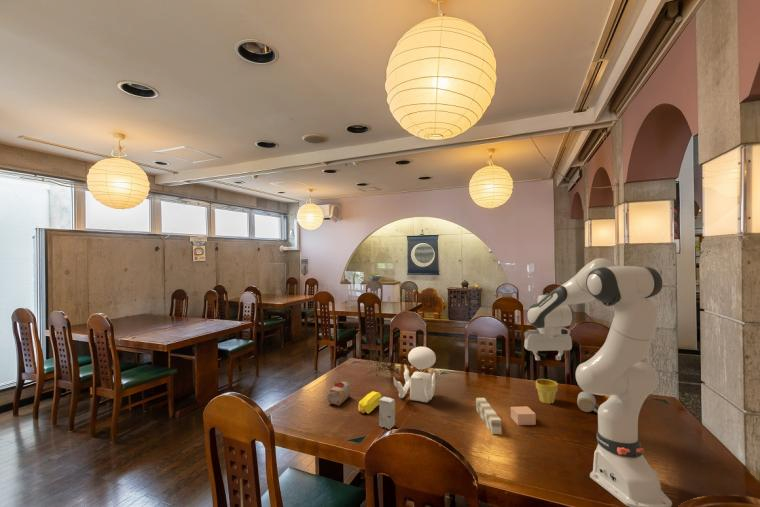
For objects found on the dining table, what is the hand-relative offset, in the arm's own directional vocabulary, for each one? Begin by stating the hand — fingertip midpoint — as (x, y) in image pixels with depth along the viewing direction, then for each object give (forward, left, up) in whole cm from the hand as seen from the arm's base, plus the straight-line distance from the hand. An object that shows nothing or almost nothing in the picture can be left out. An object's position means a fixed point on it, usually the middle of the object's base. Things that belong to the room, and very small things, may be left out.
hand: (547, 359), depth 158 cm
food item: (+28, +98, -28) cm, 106 cm away
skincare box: (-1, +73, -28) cm, 78 cm away
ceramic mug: (+12, -25, -28) cm, 40 cm away
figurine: (+30, +56, -28) cm, 70 cm away
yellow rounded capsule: (+19, +81, -29) cm, 88 cm away
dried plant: (+62, +83, -28) cm, 107 cm away
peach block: (+2, +11, -28) cm, 30 cm away
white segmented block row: (+2, +27, -28) cm, 39 cm away
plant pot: (+23, -10, -28) cm, 38 cm away
